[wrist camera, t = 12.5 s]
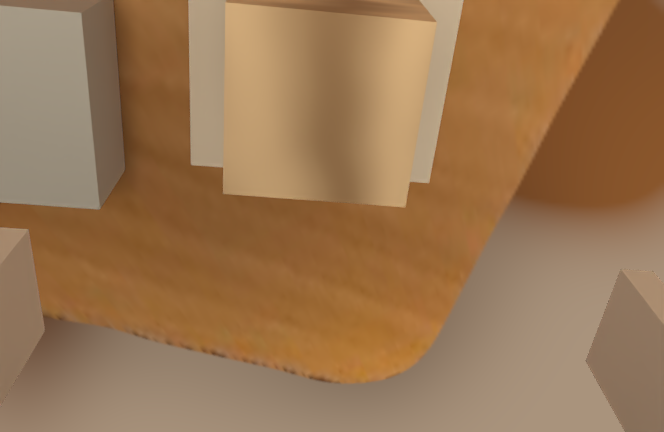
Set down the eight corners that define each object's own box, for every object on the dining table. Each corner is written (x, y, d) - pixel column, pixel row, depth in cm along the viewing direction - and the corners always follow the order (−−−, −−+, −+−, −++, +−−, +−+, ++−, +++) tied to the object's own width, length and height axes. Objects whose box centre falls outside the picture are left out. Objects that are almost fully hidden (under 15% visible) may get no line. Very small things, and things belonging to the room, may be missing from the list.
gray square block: (-50, 156, 36) (-100, 195, 32) (-89, -26, 32) (-154, -9, 27) (125, 169, 37) (100, 209, 33) (112, -7, 32) (81, 13, 28)
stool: (243, 121, 35) (222, 193, 27) (248, -31, 31) (225, 2, 23) (385, 132, 35) (405, 207, 28) (406, -16, 32) (436, 22, 24)
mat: (193, 159, 37) (190, 165, 36) (189, -107, 30) (186, -106, 29) (426, 177, 38) (428, 183, 37) (474, -77, 31) (477, -76, 30)
